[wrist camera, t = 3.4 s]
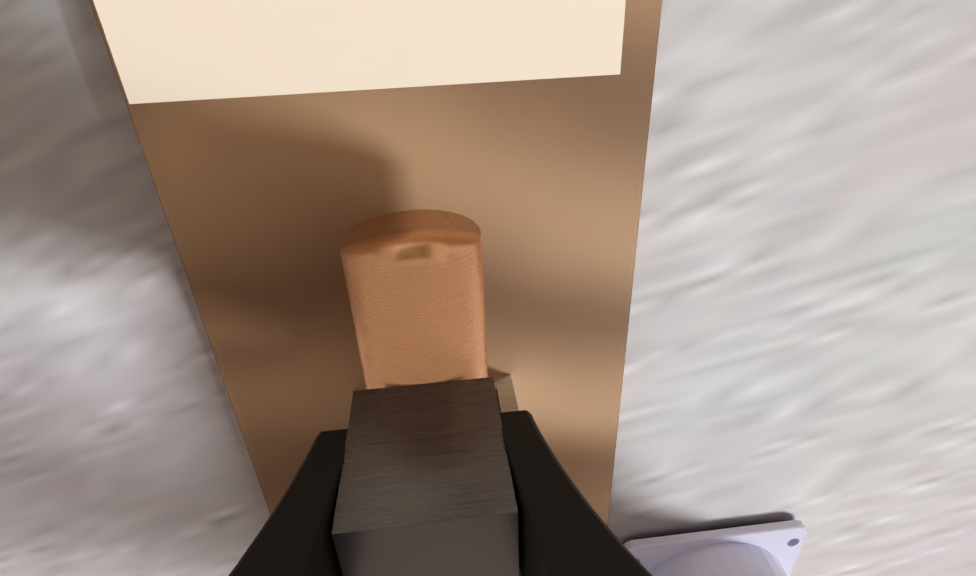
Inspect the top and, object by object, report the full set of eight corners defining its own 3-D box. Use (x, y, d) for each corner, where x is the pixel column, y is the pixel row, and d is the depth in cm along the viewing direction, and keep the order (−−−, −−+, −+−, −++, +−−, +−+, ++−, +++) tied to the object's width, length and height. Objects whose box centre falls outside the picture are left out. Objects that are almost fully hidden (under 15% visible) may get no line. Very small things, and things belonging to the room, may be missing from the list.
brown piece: (493, 558, 20) (522, 786, 15) (409, 568, 20) (406, 804, 14) (474, 204, 13) (515, 377, 8) (346, 215, 13) (294, 399, 8)
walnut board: (598, 523, 23) (605, 545, 22) (299, 559, 22) (294, 583, 21) (666, -215, 11) (686, -231, 11) (47, -202, 11) (13, -217, 10)
